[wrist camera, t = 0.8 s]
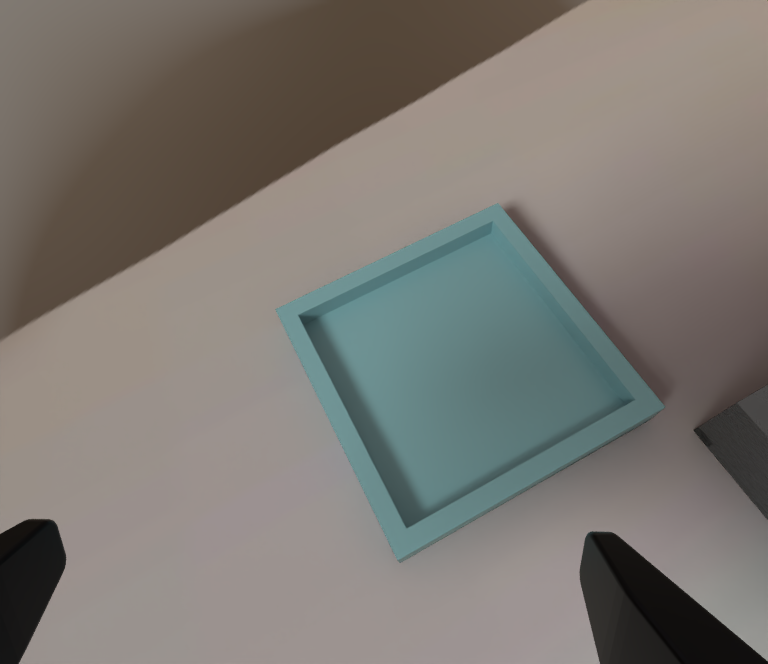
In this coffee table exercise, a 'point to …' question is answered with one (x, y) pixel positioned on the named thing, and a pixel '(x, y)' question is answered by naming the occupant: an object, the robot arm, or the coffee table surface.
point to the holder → (743, 444)
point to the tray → (461, 376)
